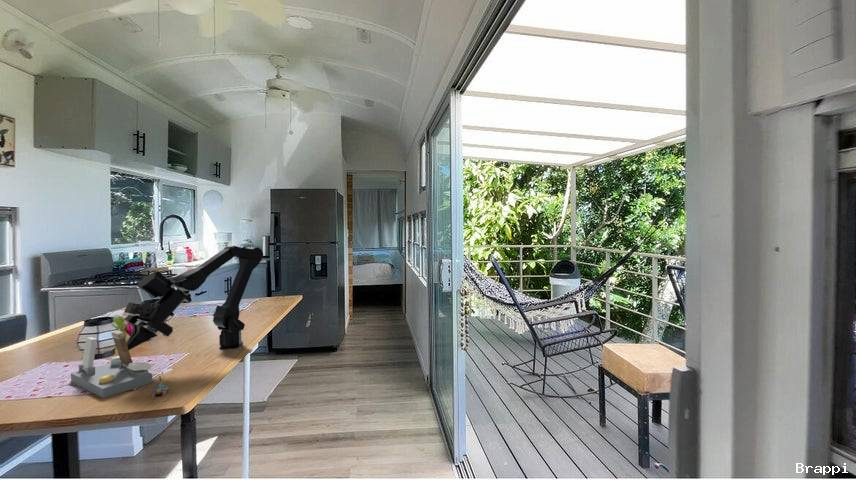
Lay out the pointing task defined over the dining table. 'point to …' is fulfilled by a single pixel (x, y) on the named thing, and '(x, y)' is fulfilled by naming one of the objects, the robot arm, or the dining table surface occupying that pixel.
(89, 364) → the lever grey
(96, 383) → the console
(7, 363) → the dining table surface
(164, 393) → the bomb figurine
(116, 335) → the paddle walnut
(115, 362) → the button
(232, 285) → the robot arm
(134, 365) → the rocker
